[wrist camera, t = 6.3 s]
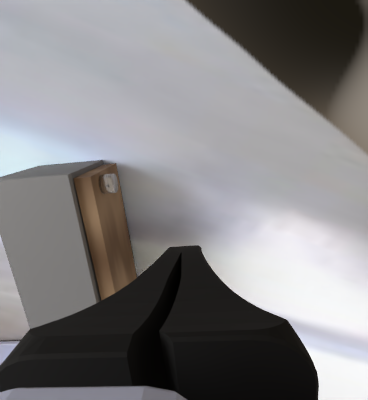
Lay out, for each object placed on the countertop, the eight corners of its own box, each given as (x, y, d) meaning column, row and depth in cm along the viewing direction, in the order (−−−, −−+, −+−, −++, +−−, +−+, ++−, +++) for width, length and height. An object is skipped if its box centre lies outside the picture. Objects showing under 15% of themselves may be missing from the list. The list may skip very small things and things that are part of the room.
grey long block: (128, 298, 23) (106, 348, 18) (72, 300, 24) (37, 350, 19) (102, 160, 20) (67, 174, 15) (38, 165, 21) (-17, 182, 15)
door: (150, 301, 23) (137, 345, 19) (129, 302, 23) (112, 346, 19) (126, 162, 20) (104, 175, 15) (102, 164, 20) (73, 178, 15)
